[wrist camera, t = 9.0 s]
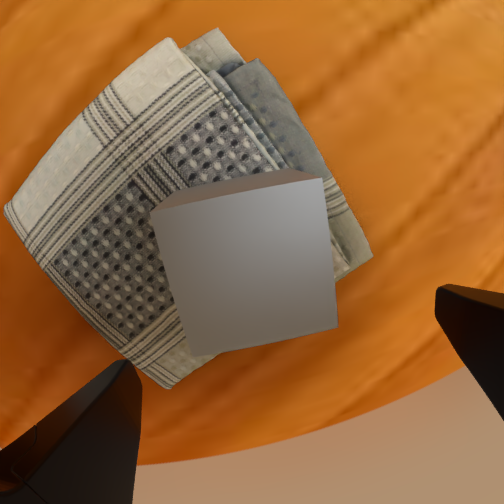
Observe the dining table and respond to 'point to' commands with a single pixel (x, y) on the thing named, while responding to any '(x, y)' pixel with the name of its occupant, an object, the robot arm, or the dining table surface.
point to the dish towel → (160, 188)
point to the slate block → (248, 260)
